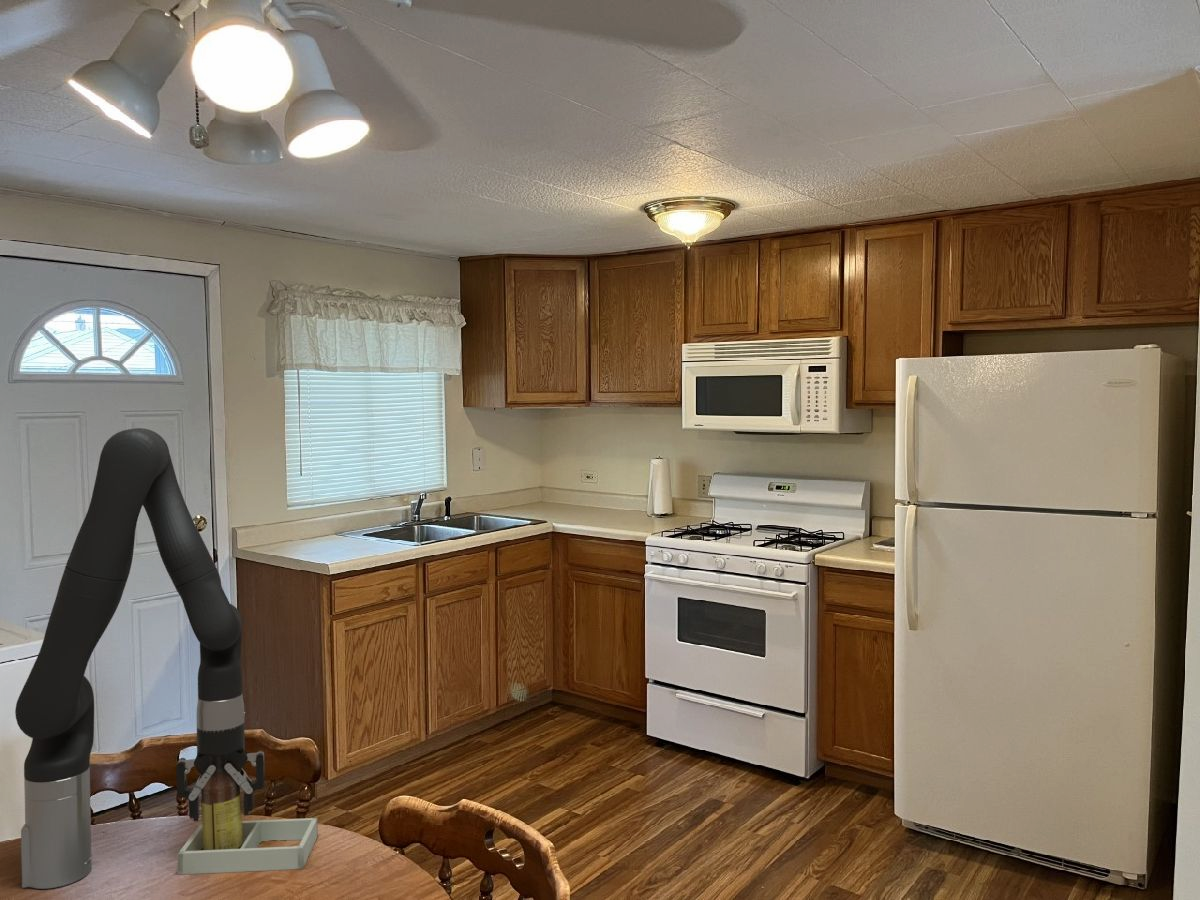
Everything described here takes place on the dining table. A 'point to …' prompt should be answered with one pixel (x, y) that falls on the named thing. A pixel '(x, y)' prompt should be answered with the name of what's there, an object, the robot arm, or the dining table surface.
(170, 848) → the dining table surface
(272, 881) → the dining table surface
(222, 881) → the dining table surface
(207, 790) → the sauce bottle
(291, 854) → the corral
